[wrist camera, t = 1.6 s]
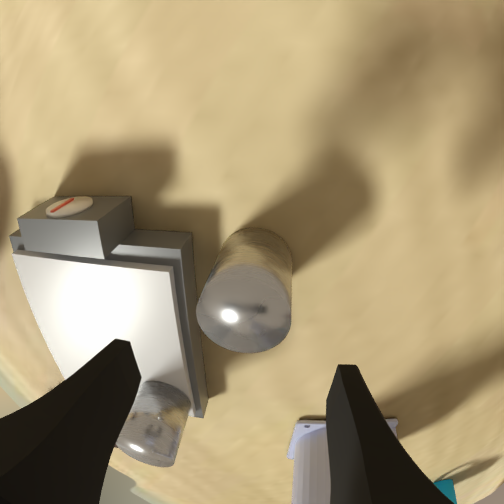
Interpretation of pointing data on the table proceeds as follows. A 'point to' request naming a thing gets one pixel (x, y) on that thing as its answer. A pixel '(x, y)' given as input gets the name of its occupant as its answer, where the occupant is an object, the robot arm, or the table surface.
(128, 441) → the cylinder
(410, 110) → the table surface
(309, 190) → the table surface
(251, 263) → the cylinder
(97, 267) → the scale
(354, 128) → the table surface
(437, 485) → the mug
